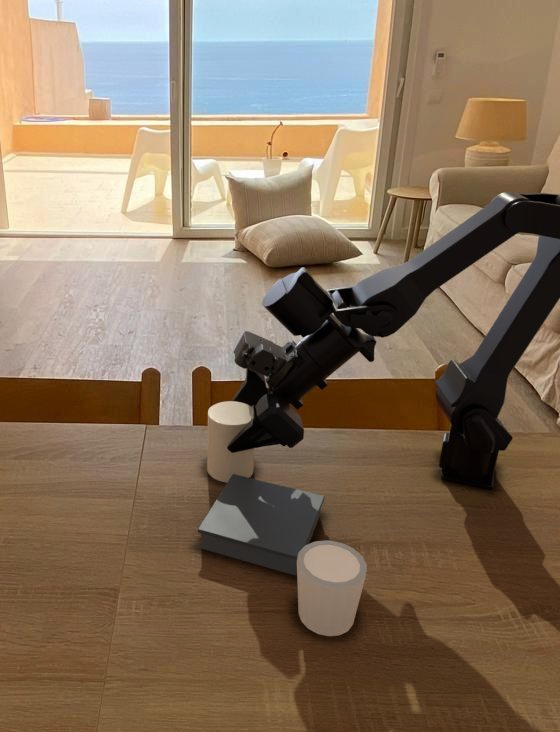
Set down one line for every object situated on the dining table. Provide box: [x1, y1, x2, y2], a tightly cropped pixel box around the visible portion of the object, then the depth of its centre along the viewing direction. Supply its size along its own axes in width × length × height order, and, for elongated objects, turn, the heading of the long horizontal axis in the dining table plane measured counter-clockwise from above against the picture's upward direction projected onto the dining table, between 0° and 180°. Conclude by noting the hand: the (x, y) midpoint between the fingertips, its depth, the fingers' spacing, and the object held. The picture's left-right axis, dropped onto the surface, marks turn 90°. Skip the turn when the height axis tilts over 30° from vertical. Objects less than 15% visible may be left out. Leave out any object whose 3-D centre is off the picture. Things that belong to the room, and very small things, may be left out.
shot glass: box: [296, 540, 368, 637], centre depth 70 cm, size 7×7×7 cm
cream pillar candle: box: [206, 400, 255, 484], centre depth 94 cm, size 6×6×9 cm
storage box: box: [197, 474, 326, 577], centre depth 83 cm, size 12×12×3 cm
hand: (227, 431), depth 93 cm, fingers open, 9 cm apart
